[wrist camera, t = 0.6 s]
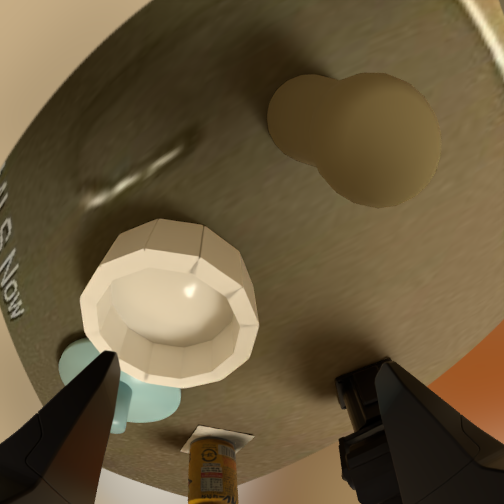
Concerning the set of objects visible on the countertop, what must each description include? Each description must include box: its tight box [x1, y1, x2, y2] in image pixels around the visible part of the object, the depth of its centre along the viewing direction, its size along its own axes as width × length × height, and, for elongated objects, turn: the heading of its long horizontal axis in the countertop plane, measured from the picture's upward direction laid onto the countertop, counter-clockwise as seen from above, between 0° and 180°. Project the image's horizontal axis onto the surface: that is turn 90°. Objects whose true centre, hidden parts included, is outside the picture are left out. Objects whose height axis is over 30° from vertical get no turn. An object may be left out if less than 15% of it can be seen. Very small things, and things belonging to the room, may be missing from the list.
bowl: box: [80, 219, 259, 388], centre depth 22 cm, size 12×12×4 cm
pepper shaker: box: [267, 73, 441, 208], centre depth 14 cm, size 6×6×11 cm
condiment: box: [180, 425, 254, 504], centre depth 31 cm, size 7×8×12 cm
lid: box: [59, 338, 181, 434], centre depth 26 cm, size 13×13×5 cm
